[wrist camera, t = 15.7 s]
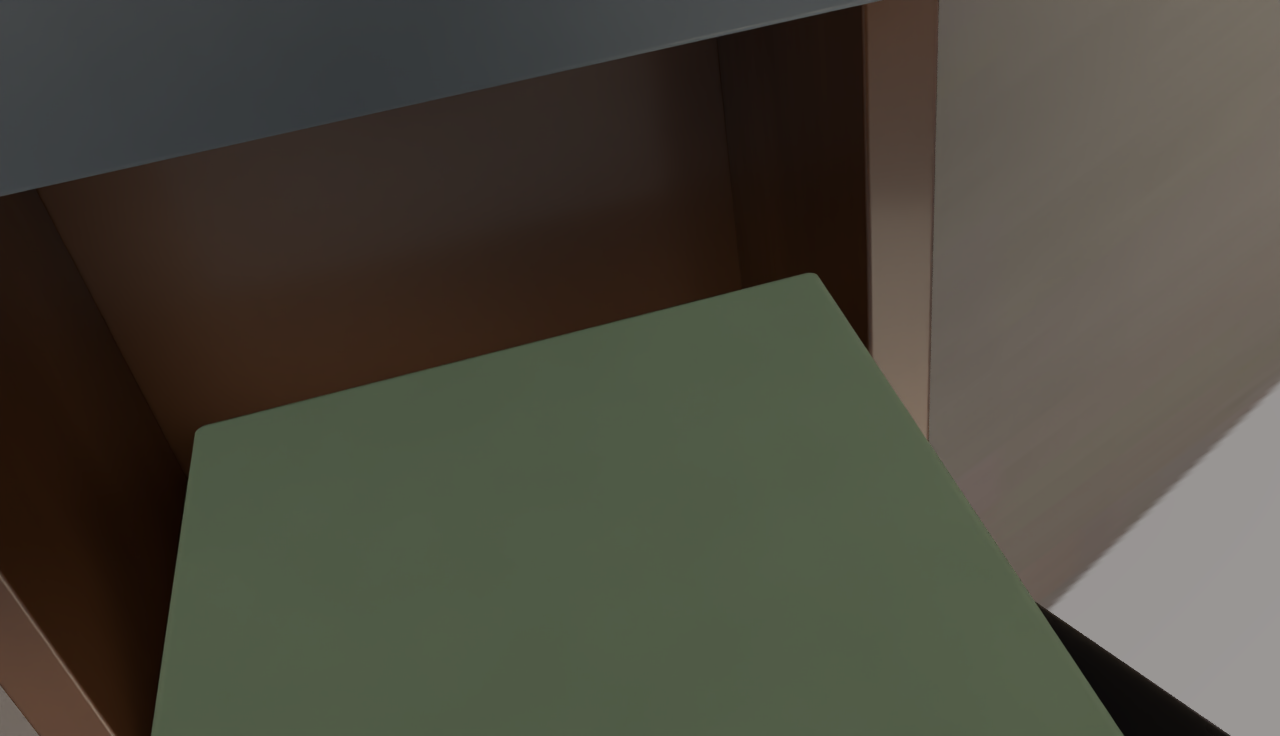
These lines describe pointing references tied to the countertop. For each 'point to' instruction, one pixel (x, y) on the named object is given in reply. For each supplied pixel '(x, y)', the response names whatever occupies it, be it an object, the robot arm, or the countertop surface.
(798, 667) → the block
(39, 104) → the grey box lid
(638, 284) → the brown wooden box
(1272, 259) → the countertop surface
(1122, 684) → the robot arm
